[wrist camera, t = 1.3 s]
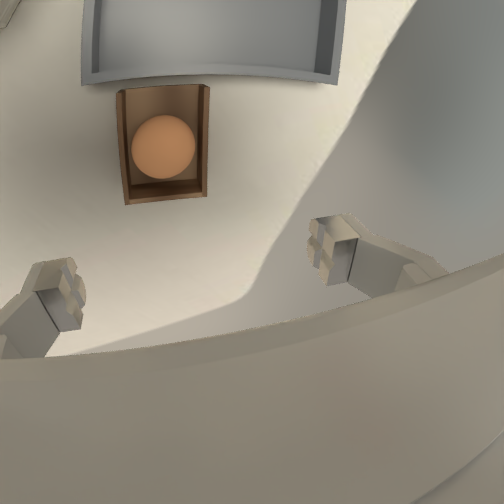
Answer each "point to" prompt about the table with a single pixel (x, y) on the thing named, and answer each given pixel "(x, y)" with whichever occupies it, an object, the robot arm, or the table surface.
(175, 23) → the tray
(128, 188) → the small wooden box
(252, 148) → the table surface
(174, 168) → the ball
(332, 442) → the robot arm
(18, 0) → the skincare box
